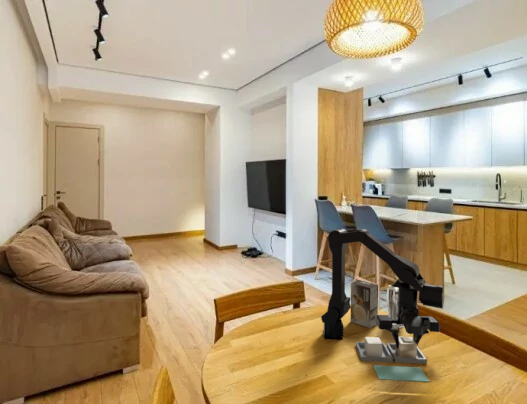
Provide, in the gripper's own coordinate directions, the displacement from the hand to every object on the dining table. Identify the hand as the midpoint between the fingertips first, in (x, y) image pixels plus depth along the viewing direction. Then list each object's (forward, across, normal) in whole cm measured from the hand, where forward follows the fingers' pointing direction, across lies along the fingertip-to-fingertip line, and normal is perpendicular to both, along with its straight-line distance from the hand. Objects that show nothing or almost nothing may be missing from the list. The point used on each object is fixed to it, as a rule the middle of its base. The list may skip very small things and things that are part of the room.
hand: (405, 348), depth 111 cm
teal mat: (+3, -5, -11) cm, 12 cm away
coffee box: (+3, -8, +25) cm, 26 cm away
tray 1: (+3, -10, 0) cm, 11 cm away
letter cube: (+2, 0, 0) cm, 2 cm away
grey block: (+2, -10, 0) cm, 11 cm away
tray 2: (+3, 0, 0) cm, 3 cm away
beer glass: (+3, +4, +24) cm, 24 cm away
